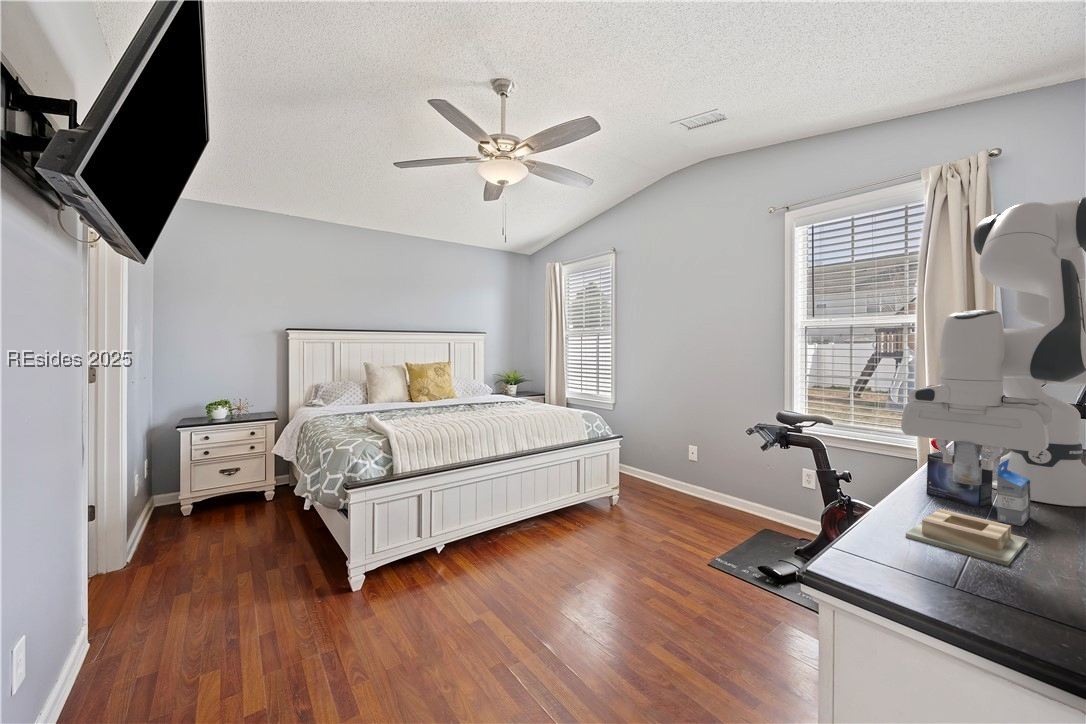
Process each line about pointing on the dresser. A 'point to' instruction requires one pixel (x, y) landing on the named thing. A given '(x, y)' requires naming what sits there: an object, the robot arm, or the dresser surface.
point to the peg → (967, 463)
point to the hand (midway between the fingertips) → (967, 466)
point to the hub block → (969, 536)
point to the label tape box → (1012, 496)
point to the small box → (956, 484)
